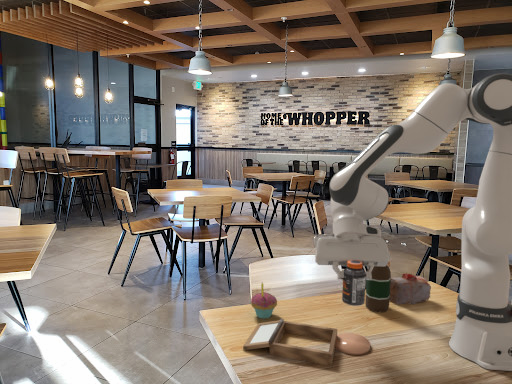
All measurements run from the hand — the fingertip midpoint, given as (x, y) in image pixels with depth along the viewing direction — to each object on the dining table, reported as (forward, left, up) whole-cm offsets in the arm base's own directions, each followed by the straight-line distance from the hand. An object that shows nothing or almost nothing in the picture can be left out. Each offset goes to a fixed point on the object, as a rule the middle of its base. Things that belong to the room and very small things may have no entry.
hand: (354, 279), depth 102 cm
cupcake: (+28, -11, -19) cm, 36 cm away
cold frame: (+12, +4, -19) cm, 23 cm away
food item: (-17, -39, -19) cm, 47 cm away
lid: (+24, +4, -19) cm, 31 cm away
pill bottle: (0, -1, -7) cm, 7 cm away
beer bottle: (-7, -29, -19) cm, 35 cm away
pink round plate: (0, -1, -19) cm, 19 cm away
